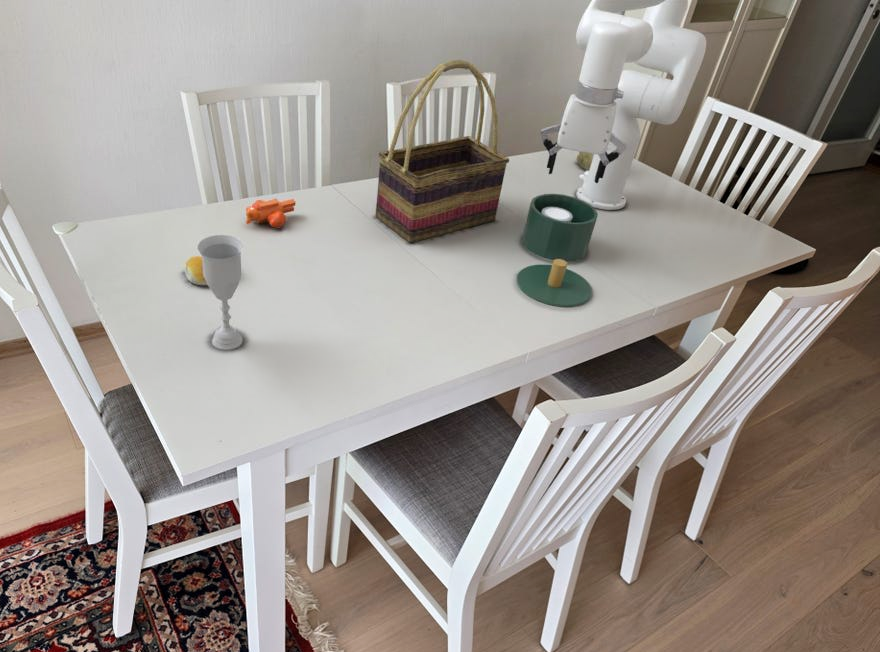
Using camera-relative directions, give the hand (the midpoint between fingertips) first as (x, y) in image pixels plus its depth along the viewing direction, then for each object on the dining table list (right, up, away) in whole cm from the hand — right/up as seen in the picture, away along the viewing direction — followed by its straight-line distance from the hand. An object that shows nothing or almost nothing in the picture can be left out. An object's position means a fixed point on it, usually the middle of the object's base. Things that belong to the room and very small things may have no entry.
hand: (573, 176), depth 143 cm
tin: (-2, -13, +10) cm, 17 cm away
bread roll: (-73, -23, -13) cm, 77 cm away
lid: (-5, -24, -4) cm, 24 cm away
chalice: (-66, -35, -28) cm, 80 cm away
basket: (-28, -6, +15) cm, 32 cm away
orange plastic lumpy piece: (-64, -9, +6) cm, 65 cm away
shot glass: (-3, -12, +11) cm, 16 cm away
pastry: (+19, +16, +50) cm, 56 cm away
